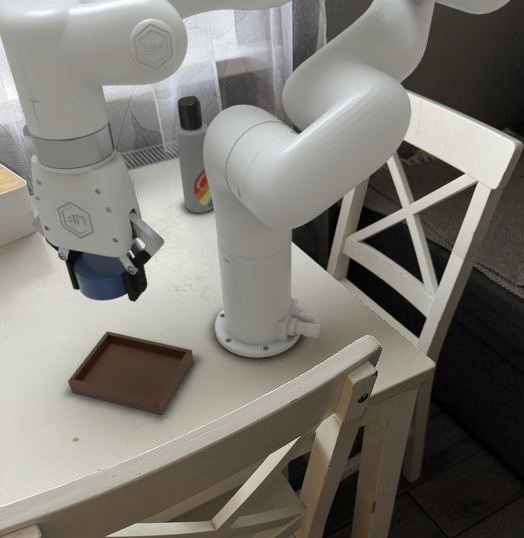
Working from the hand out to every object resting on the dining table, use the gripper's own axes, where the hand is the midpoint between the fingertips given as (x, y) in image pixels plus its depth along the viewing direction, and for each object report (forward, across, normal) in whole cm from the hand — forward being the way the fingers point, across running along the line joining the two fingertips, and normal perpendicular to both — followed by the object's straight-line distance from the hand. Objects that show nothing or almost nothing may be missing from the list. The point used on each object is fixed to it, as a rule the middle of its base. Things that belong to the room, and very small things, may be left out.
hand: (110, 287), depth 70 cm
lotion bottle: (+15, -9, +44) cm, 48 cm away
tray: (+15, 0, 0) cm, 15 cm away
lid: (-1, 0, 0) cm, 1 cm away
